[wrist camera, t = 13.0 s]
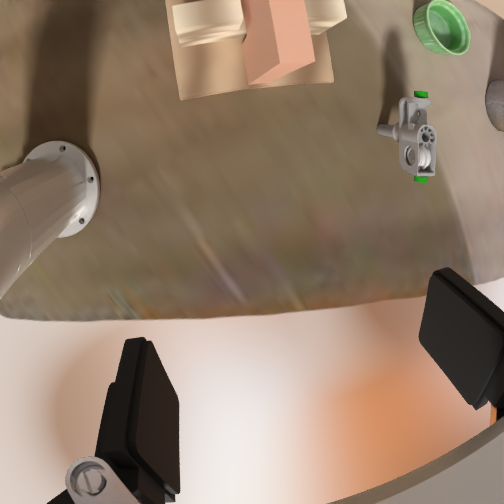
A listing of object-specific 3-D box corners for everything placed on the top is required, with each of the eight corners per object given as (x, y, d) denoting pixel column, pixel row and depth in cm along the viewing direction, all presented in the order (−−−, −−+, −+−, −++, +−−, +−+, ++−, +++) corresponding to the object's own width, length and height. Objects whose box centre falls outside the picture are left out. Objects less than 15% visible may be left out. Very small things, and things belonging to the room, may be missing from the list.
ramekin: (400, 5, 29) (417, -2, 25) (439, 3, 29) (457, -2, 25) (422, 60, 33) (441, 57, 29) (458, 54, 33) (477, 52, 29)
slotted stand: (181, 100, 32) (173, 94, 24) (165, -9, 26) (155, -42, 17) (329, 83, 34) (365, 76, 25) (310, -20, 27) (339, -49, 19)
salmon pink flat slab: (230, -19, 25) (249, -86, 12) (252, -21, 25) (281, -86, 12) (248, 84, 31) (279, 63, 18) (270, 82, 32) (315, 61, 18)
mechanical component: (389, 93, 35) (436, 93, 26) (390, 165, 39) (435, 182, 30) (370, 92, 35) (416, 90, 26) (372, 166, 39) (416, 183, 30)
